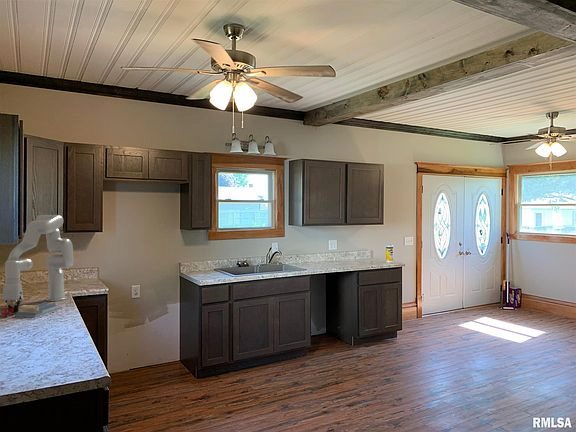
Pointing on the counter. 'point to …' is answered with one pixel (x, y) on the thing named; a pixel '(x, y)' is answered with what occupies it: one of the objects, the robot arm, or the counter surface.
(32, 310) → the tan long rectangular block
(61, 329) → the counter surface
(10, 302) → the toy fire truck
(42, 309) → the board
